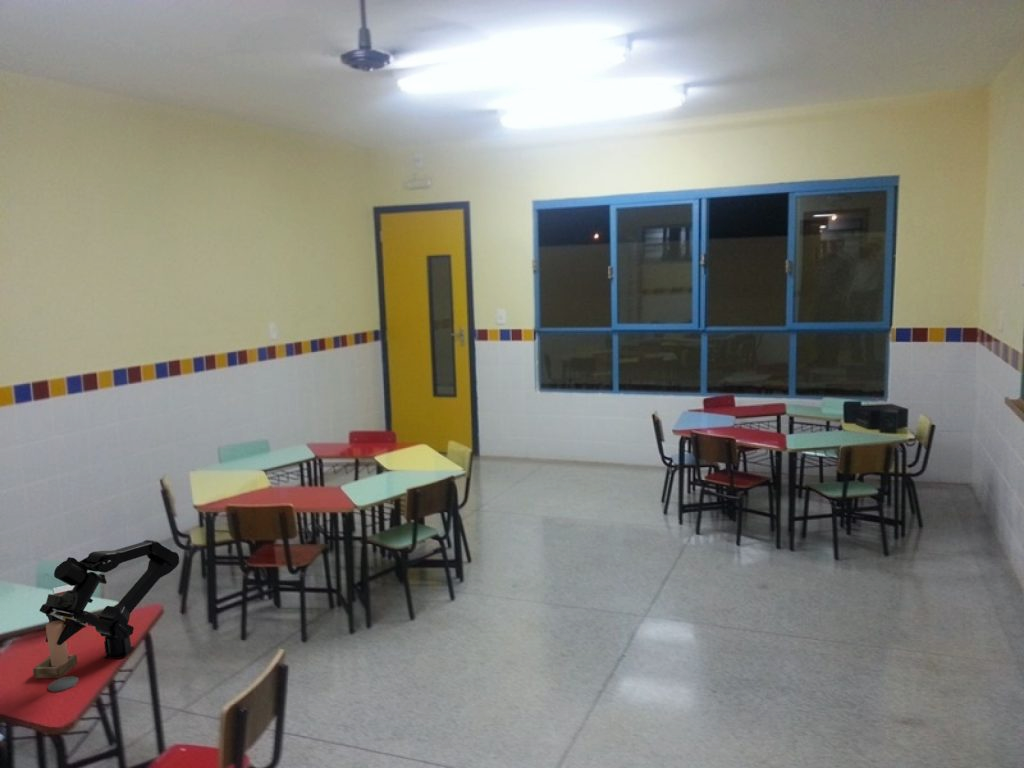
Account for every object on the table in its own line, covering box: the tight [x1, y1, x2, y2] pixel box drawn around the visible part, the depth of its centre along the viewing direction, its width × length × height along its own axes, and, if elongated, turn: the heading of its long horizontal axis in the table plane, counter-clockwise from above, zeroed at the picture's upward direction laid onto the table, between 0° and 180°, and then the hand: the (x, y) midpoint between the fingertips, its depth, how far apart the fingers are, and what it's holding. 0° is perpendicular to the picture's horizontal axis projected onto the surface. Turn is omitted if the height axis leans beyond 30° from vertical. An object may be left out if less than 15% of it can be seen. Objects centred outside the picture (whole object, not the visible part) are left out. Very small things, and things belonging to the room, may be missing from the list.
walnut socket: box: [32, 654, 79, 679], centre depth 229 cm, size 8×8×3 cm
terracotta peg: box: [45, 620, 69, 667], centre depth 220 cm, size 4×4×12 cm
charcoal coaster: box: [47, 675, 79, 693], centre depth 221 cm, size 8×8×1 cm
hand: (52, 643), depth 218 cm, fingers closed on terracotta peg, 4 cm apart
